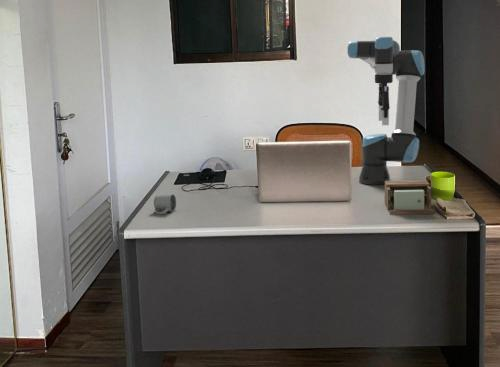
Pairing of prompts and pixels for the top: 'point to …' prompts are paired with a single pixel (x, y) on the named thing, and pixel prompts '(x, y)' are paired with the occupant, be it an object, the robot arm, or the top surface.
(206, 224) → the top surface
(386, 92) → the robot arm
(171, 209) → the ceramic mug
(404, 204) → the pale green box
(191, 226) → the top surface
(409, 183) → the cabinet
